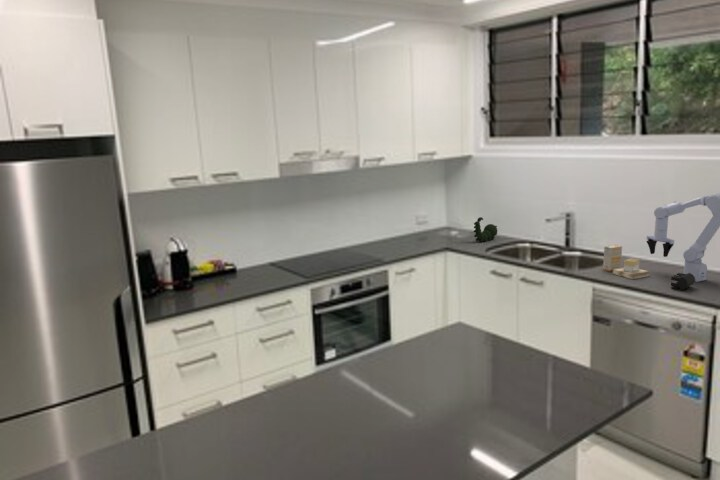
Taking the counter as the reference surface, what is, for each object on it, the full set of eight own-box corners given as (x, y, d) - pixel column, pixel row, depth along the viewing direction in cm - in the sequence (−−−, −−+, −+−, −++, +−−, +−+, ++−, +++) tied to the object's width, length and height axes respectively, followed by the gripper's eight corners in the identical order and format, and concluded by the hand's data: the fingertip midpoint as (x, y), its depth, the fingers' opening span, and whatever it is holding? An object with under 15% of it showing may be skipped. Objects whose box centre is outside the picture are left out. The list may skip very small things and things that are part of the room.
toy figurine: (482, 246, 366) (502, 237, 382) (481, 219, 361) (501, 212, 377) (470, 244, 373) (491, 236, 389) (469, 218, 368) (490, 210, 384)
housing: (632, 272, 274) (633, 261, 273) (623, 270, 277) (624, 260, 276) (638, 269, 279) (639, 259, 278) (629, 268, 282) (630, 258, 281)
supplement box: (613, 267, 294) (615, 244, 292) (621, 269, 290) (622, 246, 287) (602, 269, 292) (603, 245, 289) (609, 271, 287) (610, 247, 285)
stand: (649, 276, 276) (649, 271, 275) (632, 279, 271) (632, 274, 270) (629, 271, 286) (629, 266, 286) (612, 273, 282) (613, 269, 281)
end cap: (686, 292, 248) (687, 278, 247) (670, 288, 253) (671, 275, 252) (694, 287, 254) (696, 274, 253) (678, 284, 260) (679, 271, 258)
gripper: (679, 231, 273) (676, 256, 275) (653, 226, 286) (651, 251, 288) (669, 232, 270) (667, 258, 272) (644, 228, 283) (642, 253, 286)
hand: (658, 255), depth 280 cm, fingers open, 7 cm apart
